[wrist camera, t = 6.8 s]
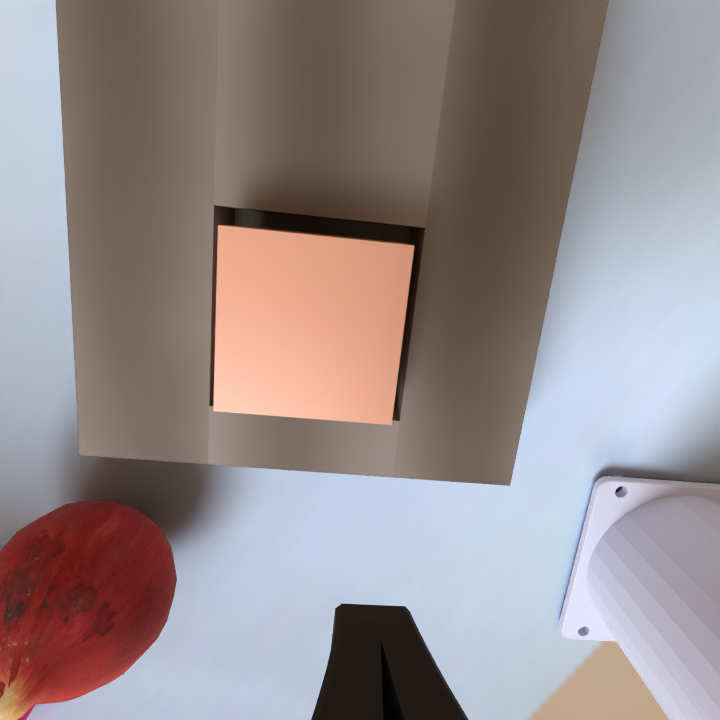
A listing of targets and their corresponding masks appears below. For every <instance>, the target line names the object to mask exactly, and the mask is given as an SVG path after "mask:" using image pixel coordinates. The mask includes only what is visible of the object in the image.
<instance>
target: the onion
mask: <svg viewBox="0 0 720 720" xmlns="http://www.w3.org/2000/svg"><path fill="white" fill-rule="evenodd" d="M176 581H177V577H176V571H175V565H174V559H173V554H172V550H171V545H170V544H169V542H168V540H167V539H166V537H165V535H164V534H163V532H162V530H161V529H160V527H159V526H158V525H157V524H156V523H155V522H153V521H152V520H151V519H149V518H148V517H147V516H146V515H144V514H143V513H142V512H141V511H139V510H138V509H135V508H132V507H129V506H126V505H124V504H121V503H118V502H115V501H112V500H103V501H84V502H77V503H71V504H65V505H63V506H61V507H59V508H57V509H56V510H54V511H52V512H50V513H48V514H46V515H44V516H42V517H41V518H39V519H37V520H35V521H34V522H32V523H31V524H29V525H27V526H26V527H24V528H22V529H21V530H19V531H18V532H17V533H16V534H15V535H14V536H13V538H12V539H11V540H10V541H9V542H8V543H7V544H6V545H5V547H4V548H3V549H2V550H1V552H0V720H17V719H19V718H21V717H22V716H23V715H24V714H25V713H26V712H27V711H28V710H29V709H30V708H31V707H32V706H33V705H34V704H47V703H56V702H63V701H68V700H72V699H75V698H77V697H80V696H83V695H85V694H87V693H89V692H91V691H93V690H95V689H97V688H99V687H101V686H104V685H106V684H108V683H110V682H111V681H113V680H115V679H116V678H118V677H119V676H121V675H122V674H124V673H125V672H126V671H127V670H128V669H129V668H130V667H131V666H132V665H133V664H134V663H135V662H136V661H137V660H138V659H139V658H140V657H141V656H142V655H143V654H144V653H145V651H146V650H147V649H148V648H149V647H150V646H151V645H152V644H153V643H154V642H155V641H156V639H157V638H158V636H159V635H160V633H161V631H162V629H163V627H164V626H165V624H166V622H167V619H168V615H169V612H170V608H171V604H172V601H173V597H174V592H175V586H176Z"/></svg>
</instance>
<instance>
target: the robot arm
mask: <svg viewBox="0 0 720 720" xmlns="http://www.w3.org/2000/svg"><path fill="white" fill-rule="evenodd" d="M621 486H622V489H621V490H620V491H619V492H616V493H615V491H616V489H617V488H618V487H621ZM581 627H583V628H581ZM580 628H581V629H580ZM559 629H560V631H561V633H562V635H563V636H564V637H565V638H568V639H581V640H602V641H617V643H618V644H619V646H620V647H621V649H622V650H623V652H624V653H625V654H626V656H627V658H628V659H629V661H630V662H631V663H632V665H633V667H634V668H635V669H636V671H637V672H638V674H639V675H640V677H641V678H642V680H643V681H644V683H645V684H646V686H647V687H648V689H649V690H650V692H651V693H652V695H653V696H654V698H655V699H656V701H657V702H658V704H659V705H660V707H661V708H662V710H663V711H664V713H665V714H666V715H667V717H668V718H669V720H720V484H711V483H697V482H683V481H670V480H656V479H642V478H628V477H615V476H603V477H601V478H599V479H598V480H597V481H596V482H595V484H594V487H593V490H592V494H591V498H590V502H589V506H588V510H587V514H586V518H585V522H584V526H583V530H582V534H581V538H580V542H579V546H578V550H577V554H576V558H575V562H574V566H573V570H572V574H571V577H570V581H569V585H568V589H567V593H566V597H565V601H564V605H563V609H562V613H561V617H560V621H559ZM311 720H468V718H467V716H466V715H465V713H464V711H463V710H462V708H461V706H460V705H459V703H458V701H457V700H456V698H455V696H454V695H453V693H452V691H451V690H450V688H449V686H448V684H447V683H446V681H445V679H444V677H443V676H442V674H441V672H440V670H439V668H438V667H437V665H436V663H435V661H434V659H433V657H432V655H431V654H430V652H429V650H428V648H427V646H426V644H425V642H424V640H423V638H422V636H421V634H420V632H419V630H418V628H417V626H416V624H415V622H414V620H413V618H412V615H411V613H410V611H409V610H408V609H407V608H406V607H405V606H382V605H359V604H341V605H340V606H338V607H337V608H335V617H334V626H333V636H332V645H331V652H330V656H329V661H328V665H327V669H326V673H325V676H324V680H323V683H322V686H321V690H320V693H319V697H318V700H317V704H316V707H315V710H314V713H313V716H312V719H311Z"/></svg>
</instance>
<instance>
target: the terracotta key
mask: <svg viewBox="0 0 720 720" xmlns="http://www.w3.org/2000/svg"><path fill="white" fill-rule="evenodd" d="M413 253H414V245H410V244H405V243H401V242H393V241H384V240H374V239H365V238H355V237H345V236H336V235H326V234H317V233H307V232H298V231H288V230H279V229H269V228H259V227H250V226H237V225H218V247H217V286H216V326H215V365H214V405H213V411H218V412H231V413H244V414H257V415H269V416H282V417H295V418H308V419H321V420H333V421H346V422H359V423H372V424H385V425H392V417H393V410H394V402H395V394H396V386H397V378H398V370H399V363H400V355H401V347H402V339H403V331H404V324H405V316H406V308H407V300H408V292H409V284H410V277H411V269H412V261H413Z"/></svg>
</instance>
